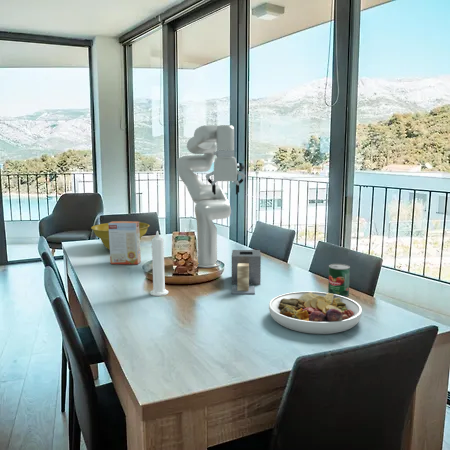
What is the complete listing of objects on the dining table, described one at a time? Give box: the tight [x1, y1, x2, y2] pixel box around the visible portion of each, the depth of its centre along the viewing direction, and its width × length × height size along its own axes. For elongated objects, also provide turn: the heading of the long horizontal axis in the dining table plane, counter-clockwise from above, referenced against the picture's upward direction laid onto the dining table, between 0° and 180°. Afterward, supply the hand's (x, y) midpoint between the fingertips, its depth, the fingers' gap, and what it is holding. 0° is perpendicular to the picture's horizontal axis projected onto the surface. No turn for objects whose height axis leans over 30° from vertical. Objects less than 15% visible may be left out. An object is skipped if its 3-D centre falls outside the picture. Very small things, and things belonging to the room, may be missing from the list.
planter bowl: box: [90, 221, 150, 251], centre depth 257 cm, size 32×32×13 cm
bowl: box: [268, 291, 363, 335], centre depth 150 cm, size 30×30×8 cm
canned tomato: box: [327, 263, 351, 297], centre depth 176 cm, size 8×8×11 cm
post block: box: [231, 249, 262, 286], centre depth 194 cm, size 12×12×12 cm
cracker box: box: [107, 220, 142, 265], centre depth 224 cm, size 14×6×21 cm, turn 84°
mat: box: [231, 285, 256, 295], centre depth 181 cm, size 9×9×1 cm
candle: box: [149, 230, 169, 297], centre depth 176 cm, size 7×7×25 cm
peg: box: [236, 263, 250, 291], centre depth 180 cm, size 4×4×10 cm
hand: (225, 194), depth 198 cm, fingers open, 9 cm apart
